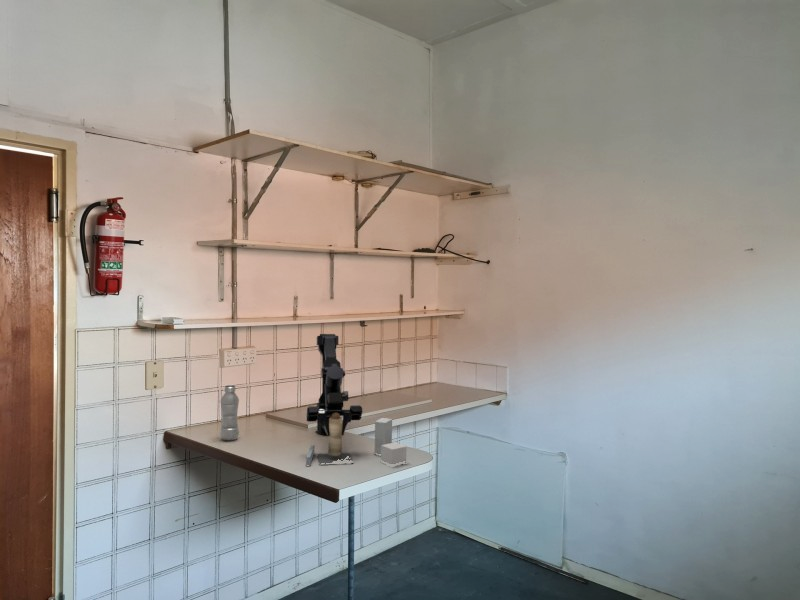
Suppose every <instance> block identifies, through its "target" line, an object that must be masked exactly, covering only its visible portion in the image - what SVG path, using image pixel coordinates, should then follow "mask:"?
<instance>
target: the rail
mask: <svg viewBox="0 0 800 600" xmlns="http://www.w3.org/2000/svg"><path fill="white" fill-rule="evenodd" d="M315 447H316V445H315V444H310V447H309V448H308V449H309V450H308V452H307V454H306V457H305V466H306V465H310V466H311V464H312V462H313V459H312V458H314V456H315ZM313 455H314V456H313ZM311 461H312V462H311ZM310 463H311V464H310Z"/></svg>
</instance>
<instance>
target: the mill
mask: <svg viewBox="0 0 800 600" xmlns="http://www.w3.org/2000/svg"><path fill="white" fill-rule="evenodd" d="M342 421H343V417H342V416H340V414H339V413H337V412H335V413H333V414H332V417H330V418H329V436H328V452H327V454H329V455H332V456H338V455H341V454H342V453H343V452H342V451H343V449H342V448H343V444H342V443H343V441H342V440H343V436H342Z"/></svg>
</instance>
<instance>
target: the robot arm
mask: <svg viewBox="0 0 800 600" xmlns="http://www.w3.org/2000/svg"><path fill="white" fill-rule="evenodd" d="M316 346H317V349H318V352H319V354H320V355H321V357H322V358H321V369H320V374H321V375H320V376H321V377H320V379H322V381H321V383H322V384H321V385H322V386H321V388H322V389H321V390H322V393H321V394H320V396H319V398H318V402H317V403H316V405H315V406H308V407H306V408H307V409H306V422H307V423H308V422H309V423H310V422H312V423H313V422H316V423H317V425H316V428H317V429H316V430H315V433H317V434H319V435H322V436H328V437H329V418H330V417H332V414H333V413H335V412H337V413H339V414H340V417H342V437H344V435H345V431H346V428H347V426H348V424H349V423H351V422H352V421H360V420H362V415H363V406H361V405H359V404H358V405H350V407H349V409H343V408H344V402H348V401H349V391H348V390H343V391H342V388H341V387H342V385H343V378H344V377H346V372H345V371H344V369H343V367H342V366H341V365H342V364H341V362H340V361H339V360H338V359H337V346H339V335H336V334H335V333H320V334H319V335H317V336H316Z"/></svg>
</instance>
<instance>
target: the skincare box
mask: <svg viewBox="0 0 800 600" xmlns="http://www.w3.org/2000/svg"><path fill="white" fill-rule="evenodd" d="M389 443H393V419H392V418H386V417H381V418H379V419H377V420H375V422H374V454H375V453H377V454H381V445H385V444H389Z"/></svg>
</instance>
